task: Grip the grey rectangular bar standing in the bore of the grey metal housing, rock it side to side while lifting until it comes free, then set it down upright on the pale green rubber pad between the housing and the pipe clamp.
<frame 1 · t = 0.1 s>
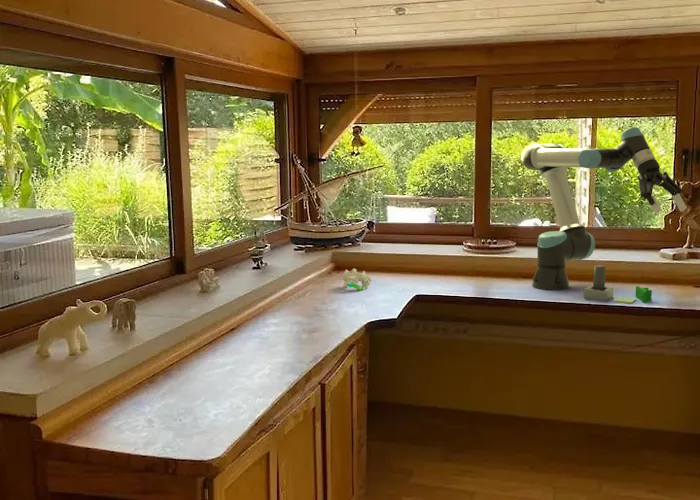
hand: (671, 210, 263), 36 cm above the counter, tool tilted 35°, fingers open, 13 cm apart
pad: (624, 301, 275), on the counter
housing: (598, 297, 281), on the counter
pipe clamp: (644, 300, 278), on the counter
grey rectangular bar: (599, 282, 280), in the housing
jaw support: (353, 290, 302), on the counter
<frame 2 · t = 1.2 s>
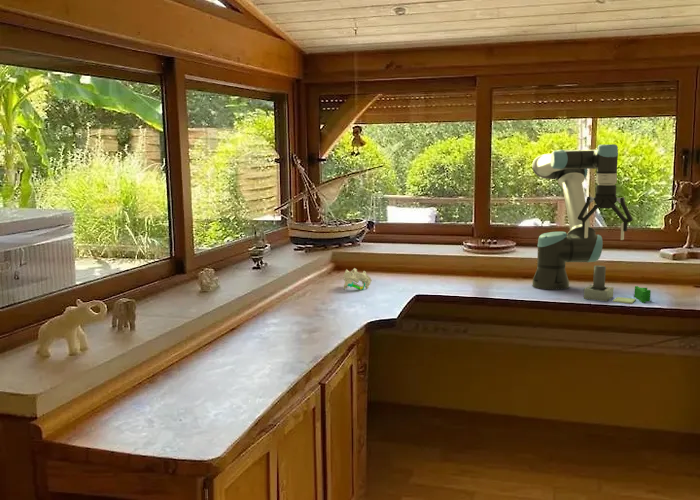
hand: (603, 238, 277), 24 cm above the counter, tool pointing down, fingers open, 13 cm apart
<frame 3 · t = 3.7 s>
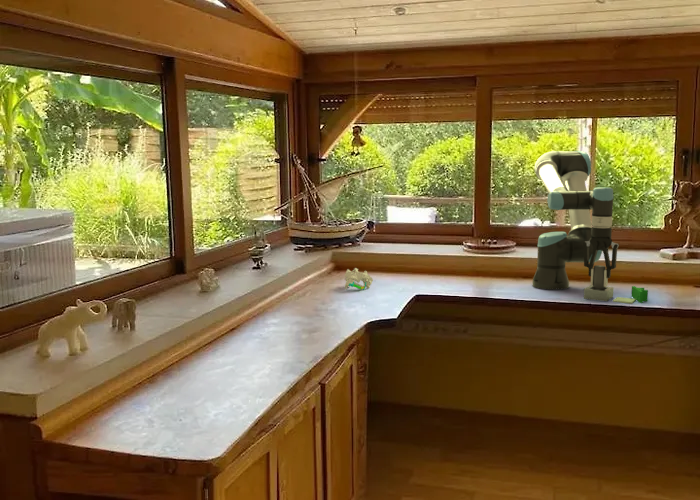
hand: (598, 285, 281), 5 cm above the counter, tool pointing down, fingers closed on grey rectangular bar, 4 cm apart
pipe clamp: (640, 300, 278), on the counter
grey rectangular bar: (599, 282, 280), in the housing, touching gripper
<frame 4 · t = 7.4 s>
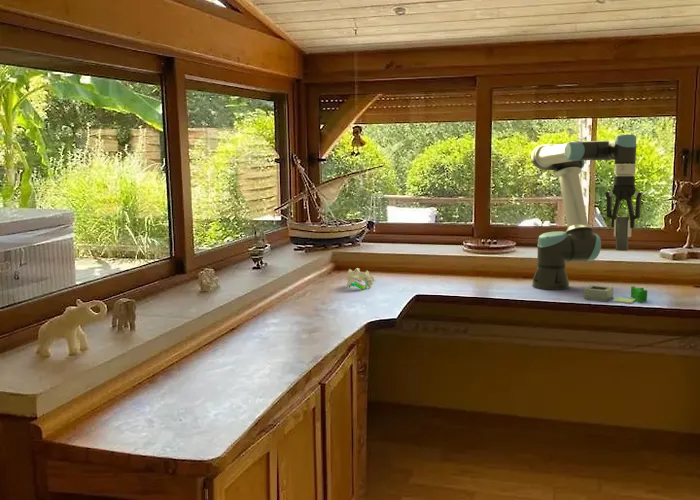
hand: (622, 236, 272), 25 cm above the counter, tool pointing down, fingers closed on grey rectangular bar, 4 cm apart
grey rectangular bar: (622, 233, 272), point 27 cm above the counter, touching gripper
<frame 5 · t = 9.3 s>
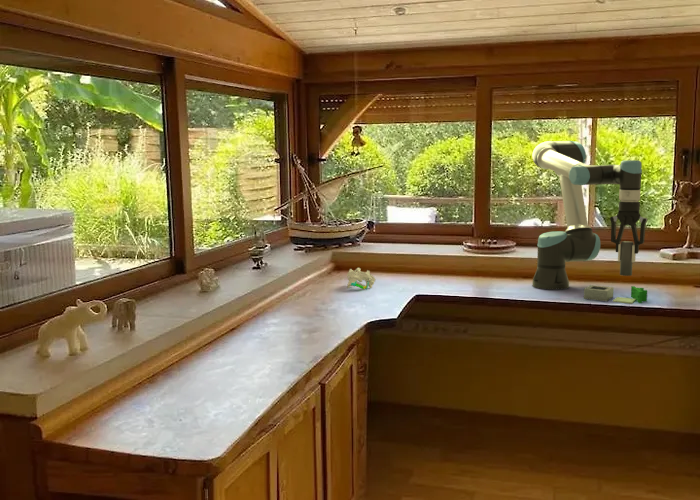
hand: (626, 261, 273), 16 cm above the counter, tool pointing down, fingers closed on grey rectangular bar, 4 cm apart
grey rectangular bar: (626, 258, 273), point 17 cm above the counter, touching gripper
when the fingers open (7 cm above the counter, at t = 11.1 s): grey rectangular bar drops 1 cm, resting on pad.
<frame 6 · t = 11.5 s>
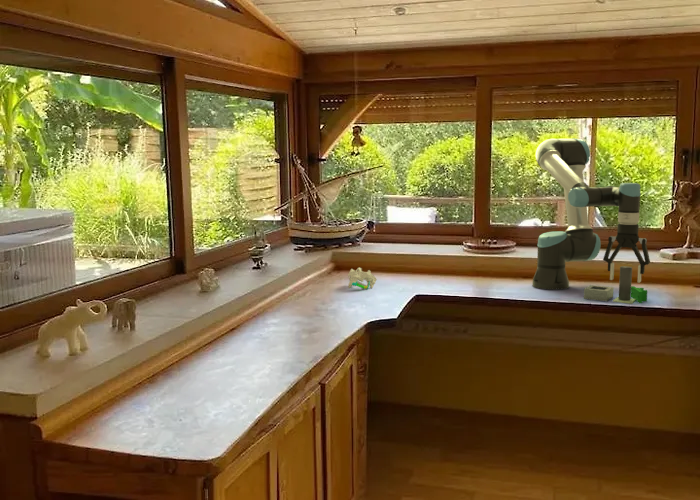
hand: (625, 280, 274), 8 cm above the counter, tool pointing down, fingers open, 9 cm apart
grey rectangular bar: (625, 283, 274), on the pad, point 7 cm above the counter
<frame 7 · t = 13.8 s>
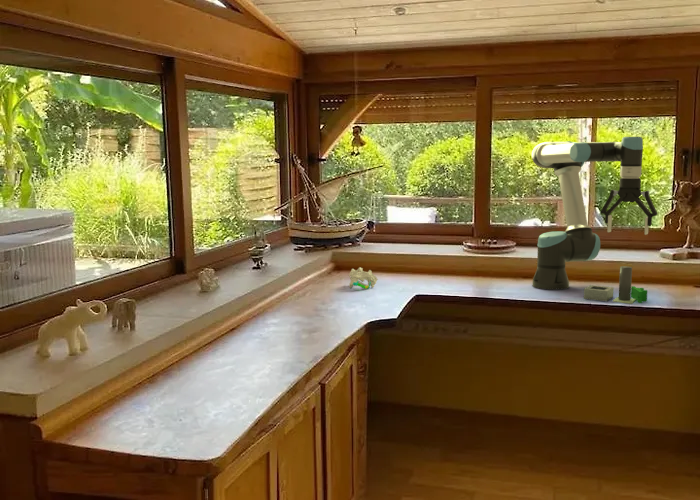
hand: (627, 233, 272), 27 cm above the counter, tool pointing down, fingers open, 13 cm apart
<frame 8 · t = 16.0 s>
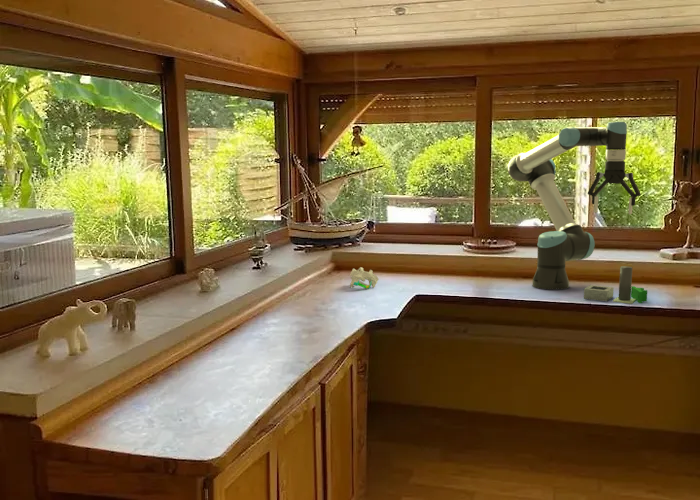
hand: (612, 213, 288), 33 cm above the counter, tool pointing down, fingers open, 13 cm apart
at the end: grey rectangular bar inside the target area (0.0 cm from its centre), point 7.0 cm above the counter; grey rectangular bar tilted 1°; the gripper is holding nothing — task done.
